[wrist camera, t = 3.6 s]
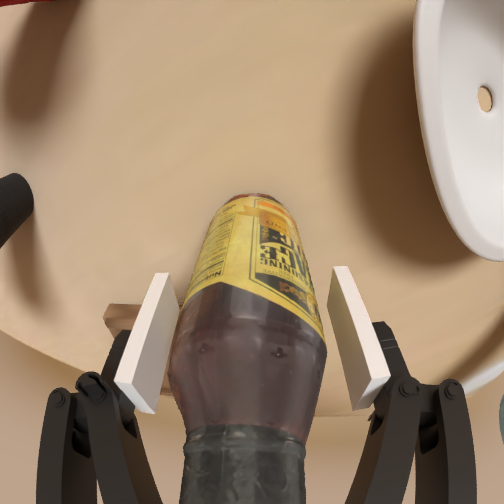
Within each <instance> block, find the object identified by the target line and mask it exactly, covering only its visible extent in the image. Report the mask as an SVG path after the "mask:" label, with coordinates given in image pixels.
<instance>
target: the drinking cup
mask: <svg viewBox="0 0 504 504" xmlns="http://www.w3.org/2000/svg"><path fill="white" fill-rule="evenodd" d="M32 210H33V195H32V192H31V189H30V186H29V184H28V183H27V181H26V180H25V179H24V178H23V177H22V176H21V175H19V174H17V173H12V174H9V175H7V176H5V177H3V178H1V179H0V248H1V247H2V246H3V245H4V243H5V242H6V241H7V240H8V239H9V238H10V236H11V235H12V234H13V233H14V232H15V231H16V230H17V229H18V228H19V226H20V225H21V224H22V223H23V222H24V221H25V220H26V219H27V218H28V217H29V216H30V214H31V213H32Z"/></svg>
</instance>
